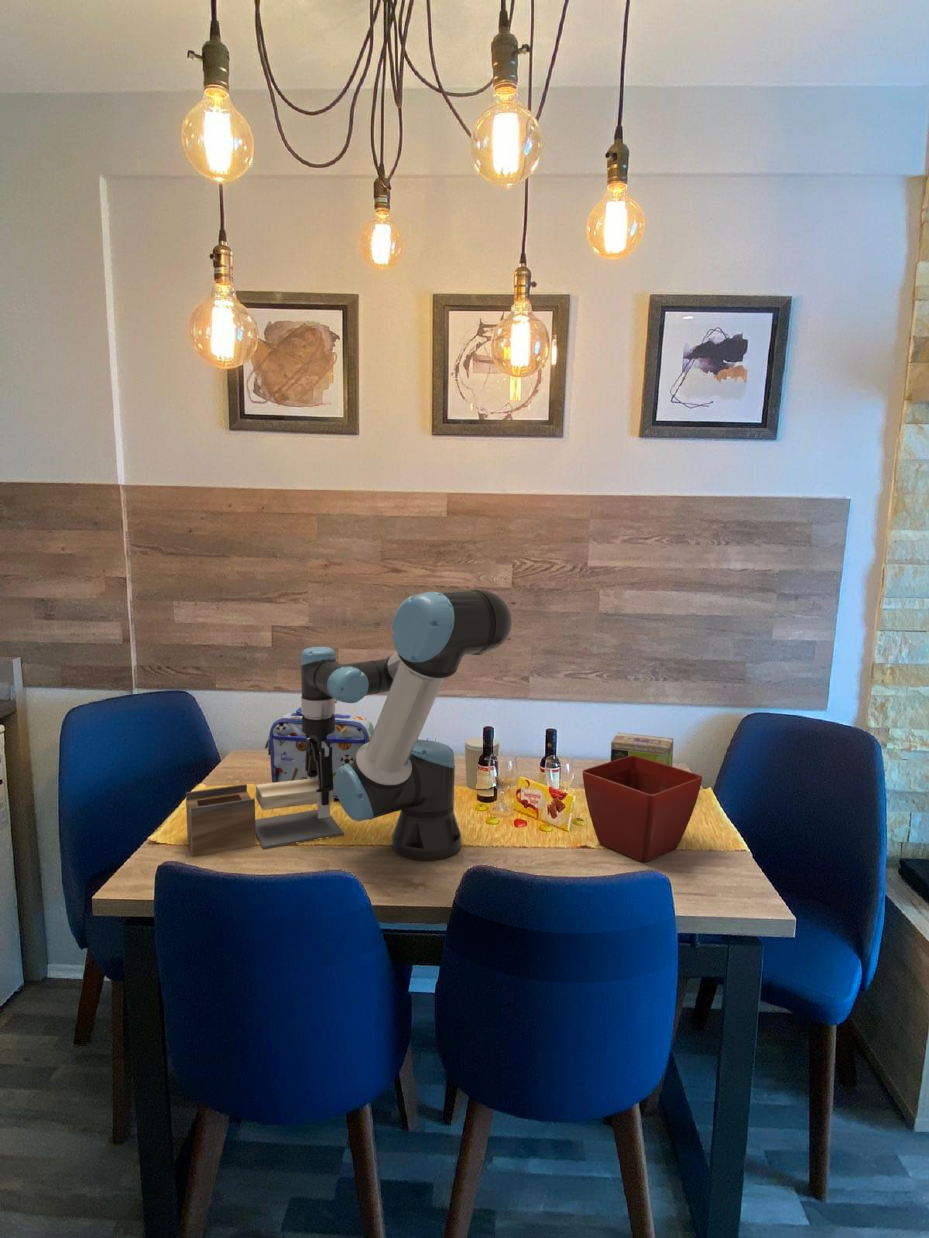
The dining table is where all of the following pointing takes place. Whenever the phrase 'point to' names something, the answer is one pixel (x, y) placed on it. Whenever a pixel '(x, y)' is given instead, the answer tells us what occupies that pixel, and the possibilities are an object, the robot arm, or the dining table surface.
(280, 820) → the charcoal mat
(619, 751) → the tea box
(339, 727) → the lunch box
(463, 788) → the dining table surface
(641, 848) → the plant pot
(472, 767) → the coffee cup
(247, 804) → the walnut box
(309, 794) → the birch lid
